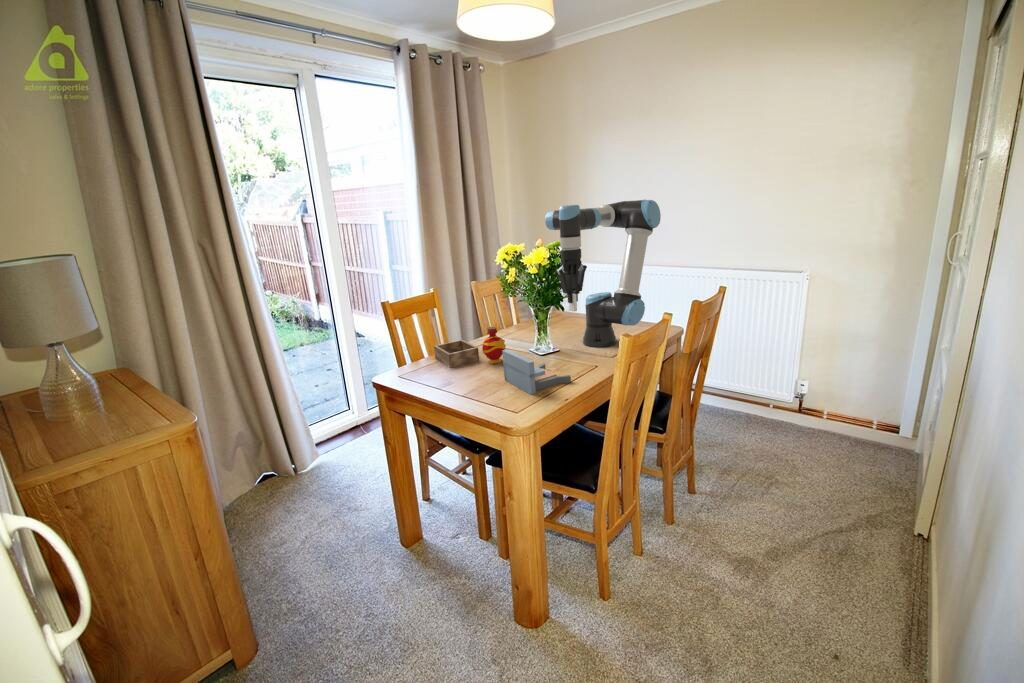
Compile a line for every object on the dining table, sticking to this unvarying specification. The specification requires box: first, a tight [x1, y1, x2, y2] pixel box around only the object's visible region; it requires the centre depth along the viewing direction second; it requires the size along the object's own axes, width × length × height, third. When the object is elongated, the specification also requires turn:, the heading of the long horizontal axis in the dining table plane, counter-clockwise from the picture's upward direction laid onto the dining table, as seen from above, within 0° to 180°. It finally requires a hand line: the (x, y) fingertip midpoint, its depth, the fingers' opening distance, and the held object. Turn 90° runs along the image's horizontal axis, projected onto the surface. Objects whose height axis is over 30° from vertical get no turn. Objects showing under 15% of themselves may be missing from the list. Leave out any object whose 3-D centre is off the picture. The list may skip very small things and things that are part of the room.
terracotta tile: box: [535, 368, 558, 382], centre depth 180 cm, size 12×9×3 cm
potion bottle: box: [482, 326, 507, 364], centre depth 205 cm, size 10×10×15 cm
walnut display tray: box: [433, 339, 480, 369], centre depth 212 cm, size 14×17×6 cm
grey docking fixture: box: [502, 348, 572, 396], centre depth 179 cm, size 18×19×12 cm
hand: (573, 310), depth 182 cm, fingers closed
